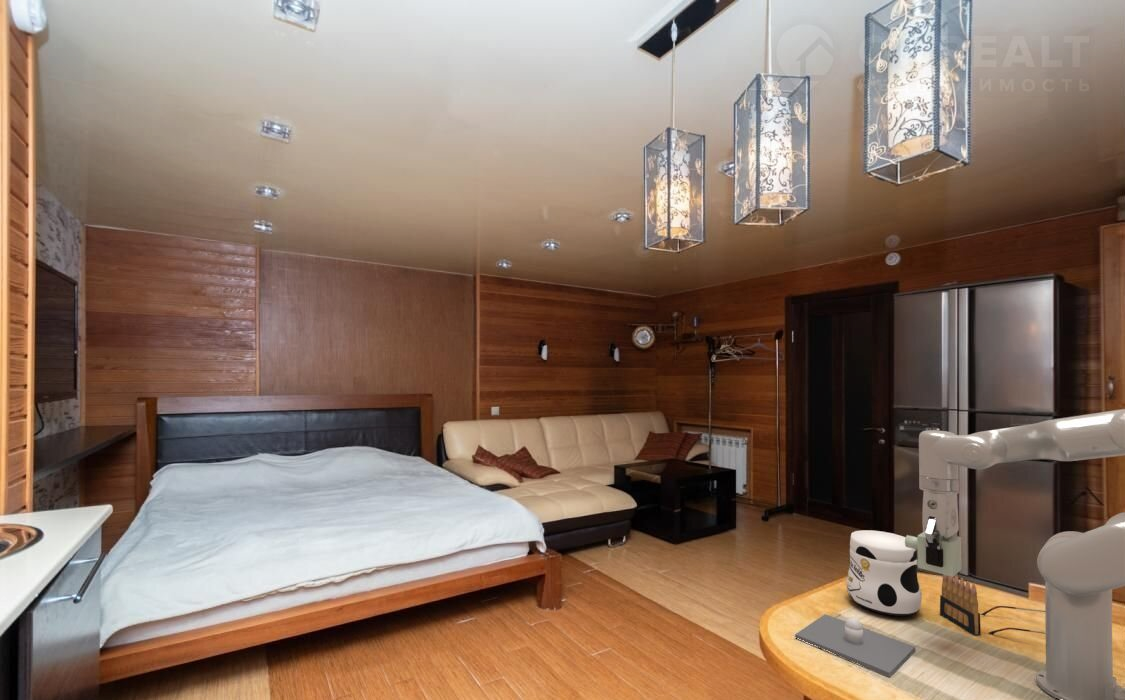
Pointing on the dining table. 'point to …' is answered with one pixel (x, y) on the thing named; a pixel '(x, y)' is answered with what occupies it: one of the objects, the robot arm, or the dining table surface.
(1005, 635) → the dining table surface
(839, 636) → the board
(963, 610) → the ammunition clip
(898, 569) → the milk container
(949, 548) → the block with round peg
